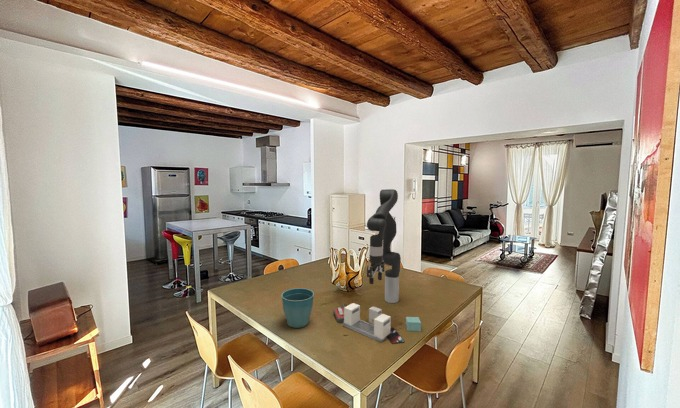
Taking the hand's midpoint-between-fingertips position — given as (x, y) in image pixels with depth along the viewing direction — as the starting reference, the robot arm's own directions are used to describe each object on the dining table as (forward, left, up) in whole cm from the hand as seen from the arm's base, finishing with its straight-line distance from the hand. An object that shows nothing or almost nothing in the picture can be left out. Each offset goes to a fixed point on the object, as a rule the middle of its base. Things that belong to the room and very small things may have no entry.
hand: (375, 281), depth 161 cm
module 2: (+10, +11, -23) cm, 27 cm away
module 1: (+10, -9, -23) cm, 26 cm away
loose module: (0, 0, -24) cm, 24 cm away
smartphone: (+5, +15, -24) cm, 29 cm away
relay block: (-6, +17, -22) cm, 28 cm away
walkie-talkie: (+6, -20, -24) cm, 32 cm away
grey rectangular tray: (+10, +1, -24) cm, 26 cm away
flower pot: (+29, -33, -24) cm, 50 cm away
